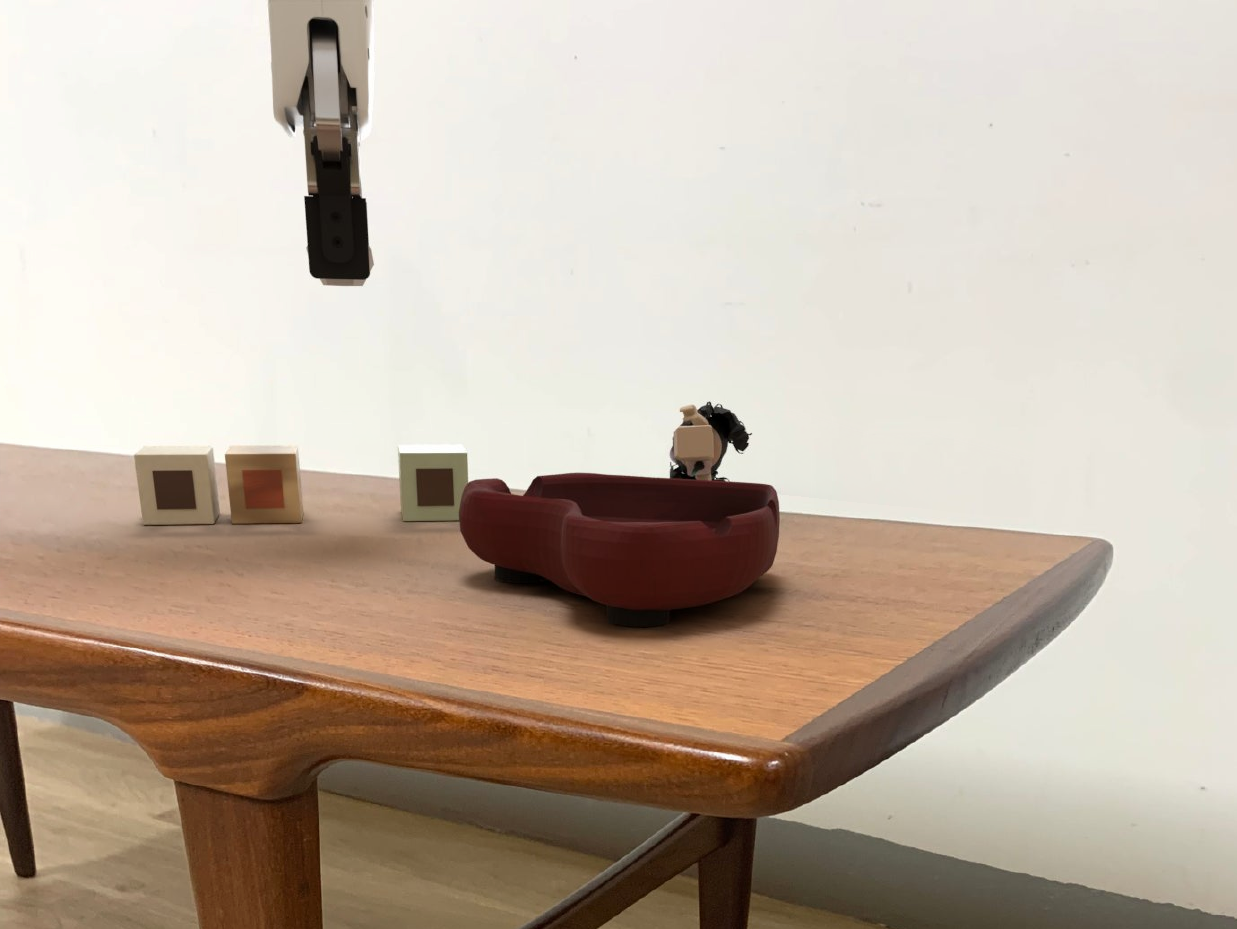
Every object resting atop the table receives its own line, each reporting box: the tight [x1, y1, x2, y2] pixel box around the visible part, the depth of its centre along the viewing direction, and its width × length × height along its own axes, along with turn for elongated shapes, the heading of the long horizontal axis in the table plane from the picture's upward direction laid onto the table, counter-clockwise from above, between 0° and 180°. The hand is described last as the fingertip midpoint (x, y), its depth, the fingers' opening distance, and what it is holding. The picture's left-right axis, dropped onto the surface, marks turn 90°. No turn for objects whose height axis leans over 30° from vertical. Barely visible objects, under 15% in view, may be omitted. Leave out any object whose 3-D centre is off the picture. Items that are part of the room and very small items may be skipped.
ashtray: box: [459, 472, 781, 628], centre depth 70 cm, size 18×16×5 cm
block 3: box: [397, 444, 469, 522], centre depth 90 cm, size 4×4×4 cm
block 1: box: [133, 445, 221, 526], centre depth 87 cm, size 4×4×4 cm
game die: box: [305, 244, 375, 287], centre depth 74 cm, size 4×4×3 cm
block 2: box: [224, 445, 304, 525], centre depth 88 cm, size 4×4×4 cm
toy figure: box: [669, 401, 753, 482], centre depth 96 cm, size 7×6×15 cm
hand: (341, 275), depth 74 cm, fingers closed on game die, 3 cm apart
